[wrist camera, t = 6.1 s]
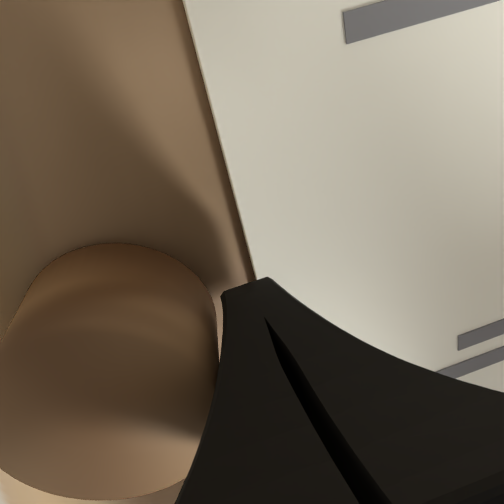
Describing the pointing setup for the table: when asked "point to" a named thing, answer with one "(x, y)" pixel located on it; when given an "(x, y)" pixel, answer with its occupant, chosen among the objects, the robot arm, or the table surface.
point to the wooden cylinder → (107, 374)
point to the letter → (370, 164)
